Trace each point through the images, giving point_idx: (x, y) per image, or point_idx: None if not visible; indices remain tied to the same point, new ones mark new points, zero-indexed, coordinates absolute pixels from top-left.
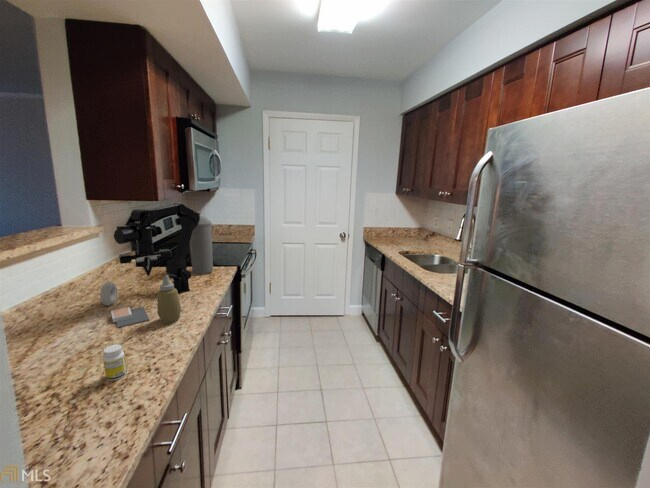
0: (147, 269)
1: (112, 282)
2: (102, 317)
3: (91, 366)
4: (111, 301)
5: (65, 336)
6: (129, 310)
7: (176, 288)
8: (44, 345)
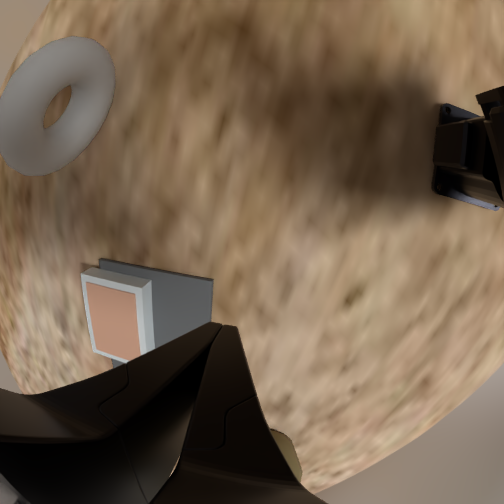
0: (181, 446)
1: (31, 80)
2: (71, 257)
3: None
4: (83, 148)
5: (24, 318)
6: (141, 330)
7: (455, 174)
8: (9, 328)
